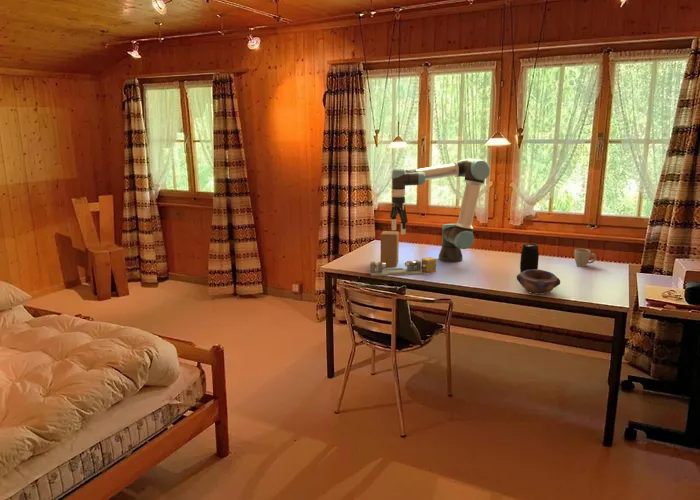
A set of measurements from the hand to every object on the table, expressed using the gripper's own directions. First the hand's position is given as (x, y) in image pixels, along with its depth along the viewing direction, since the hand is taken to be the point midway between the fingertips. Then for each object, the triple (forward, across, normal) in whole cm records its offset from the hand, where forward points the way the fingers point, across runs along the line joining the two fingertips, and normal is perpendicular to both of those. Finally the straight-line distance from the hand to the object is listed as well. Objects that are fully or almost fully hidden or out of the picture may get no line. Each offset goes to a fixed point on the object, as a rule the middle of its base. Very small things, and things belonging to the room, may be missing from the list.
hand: (398, 232), depth 307 cm
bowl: (+23, +65, +49) cm, 85 cm away
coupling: (+23, +12, +14) cm, 29 cm away
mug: (+24, +32, +108) cm, 116 cm away
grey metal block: (+23, +8, +5) cm, 25 cm away
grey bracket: (+22, +4, -15) cm, 27 cm away
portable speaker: (+24, +43, +60) cm, 77 cm away
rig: (+22, +7, -5) cm, 24 cm away
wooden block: (+23, -12, -1) cm, 26 cm away
